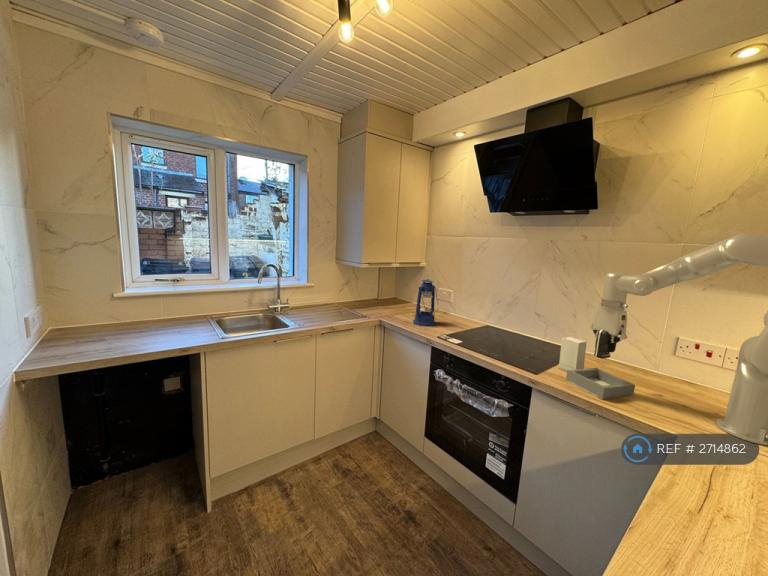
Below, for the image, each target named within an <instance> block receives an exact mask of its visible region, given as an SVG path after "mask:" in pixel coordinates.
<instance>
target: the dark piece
mask: <svg viewBox="0 0 768 576" xmlns="http://www.w3.org/2000/svg"><path fill="white" fill-rule="evenodd" d="M609 342H610V334H609V333H608V332H607V331H605V330H602V329H600V330H599V331H598V334H597V340H596V339H595V343H596V347H595V346H594V349H595V350H594V353H593V354H594V355H593V356H594V357H595V358H599V359H609V358H610V357H612V356H611V352H610V353H609V352H607V348H608V343H609Z"/></svg>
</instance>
